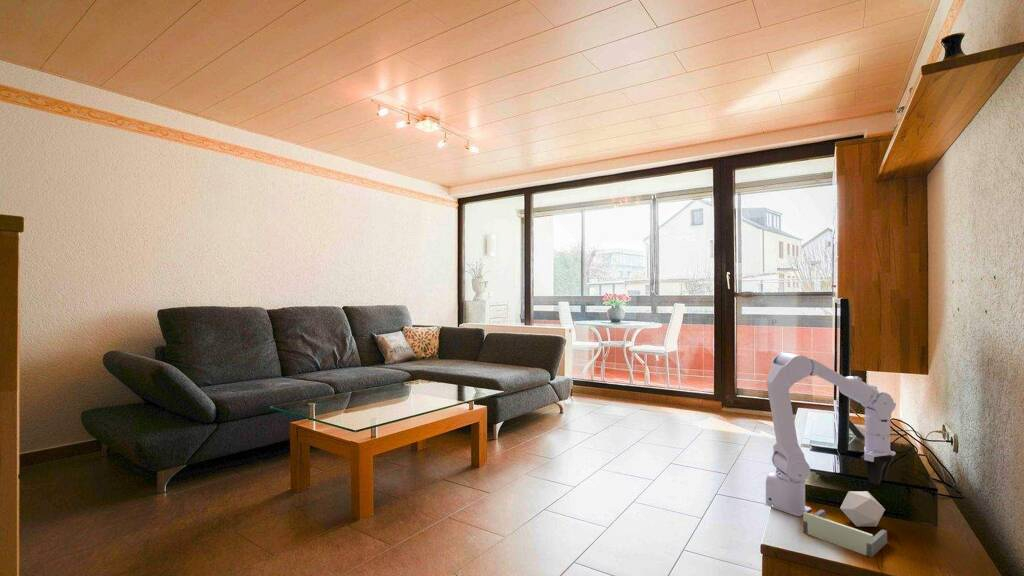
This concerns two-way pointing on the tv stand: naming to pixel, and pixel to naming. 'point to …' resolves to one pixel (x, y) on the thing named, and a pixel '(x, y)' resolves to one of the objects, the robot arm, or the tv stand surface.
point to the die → (862, 508)
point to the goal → (843, 534)
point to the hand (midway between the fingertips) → (877, 481)
